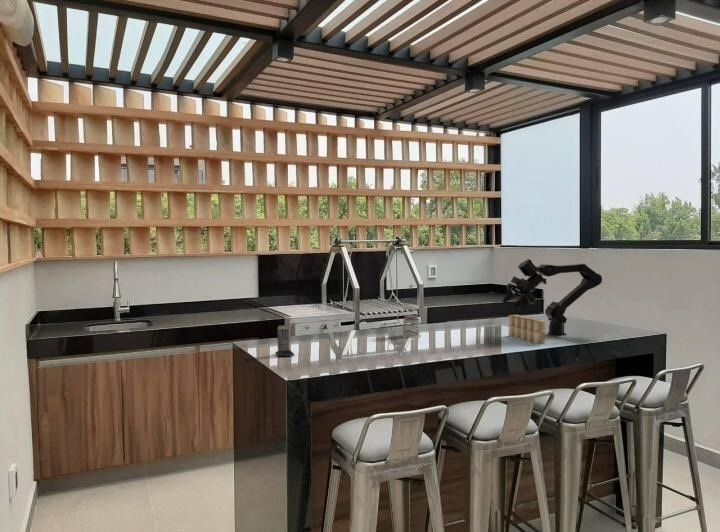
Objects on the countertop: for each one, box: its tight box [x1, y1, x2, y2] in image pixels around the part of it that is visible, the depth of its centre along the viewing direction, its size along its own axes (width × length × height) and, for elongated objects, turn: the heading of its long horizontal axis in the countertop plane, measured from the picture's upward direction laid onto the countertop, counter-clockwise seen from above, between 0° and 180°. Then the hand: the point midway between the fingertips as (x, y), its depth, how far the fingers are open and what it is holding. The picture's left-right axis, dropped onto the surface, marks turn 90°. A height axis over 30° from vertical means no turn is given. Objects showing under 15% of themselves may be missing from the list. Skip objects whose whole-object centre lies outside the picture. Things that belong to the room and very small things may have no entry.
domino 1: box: [508, 314, 521, 337], centre depth 268 cm, size 5×2×10 cm, turn 109°
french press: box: [397, 284, 422, 339], centre depth 268 cm, size 10×12×25 cm
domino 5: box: [532, 319, 546, 344], centre depth 250 cm, size 5×2×10 cm, turn 109°
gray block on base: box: [274, 324, 295, 357], centre depth 225 cm, size 9×8×12 cm
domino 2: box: [513, 315, 527, 339], centre depth 264 cm, size 5×2×10 cm, turn 109°
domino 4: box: [526, 318, 540, 342], centre depth 255 cm, size 5×2×10 cm, turn 109°
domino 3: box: [520, 317, 533, 341], centre depth 259 cm, size 5×2×10 cm, turn 109°
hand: (507, 304), depth 268 cm, fingers open, 9 cm apart
